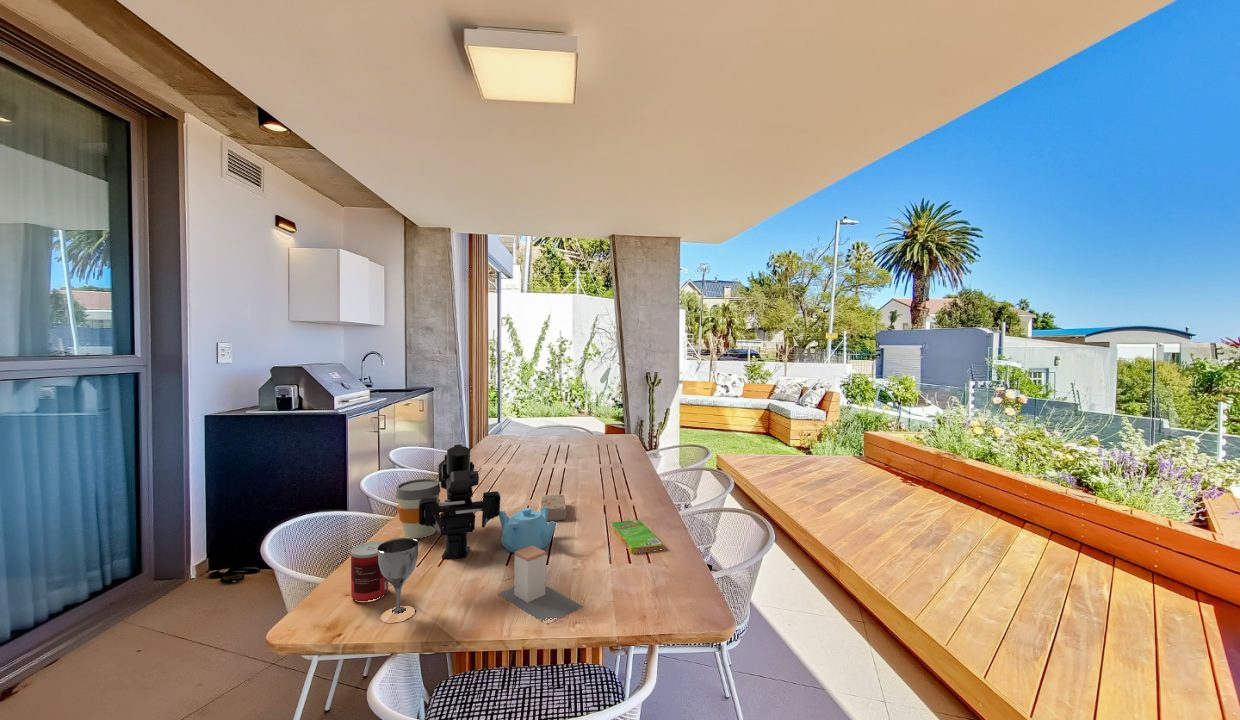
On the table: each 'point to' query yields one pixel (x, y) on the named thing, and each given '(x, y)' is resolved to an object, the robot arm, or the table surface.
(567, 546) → the table surface
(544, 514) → the teapot
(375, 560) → the canned food
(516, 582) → the tall block
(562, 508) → the brick
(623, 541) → the game box
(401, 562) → the wine glass
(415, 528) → the reusable coffee cup
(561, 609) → the rubber mat
